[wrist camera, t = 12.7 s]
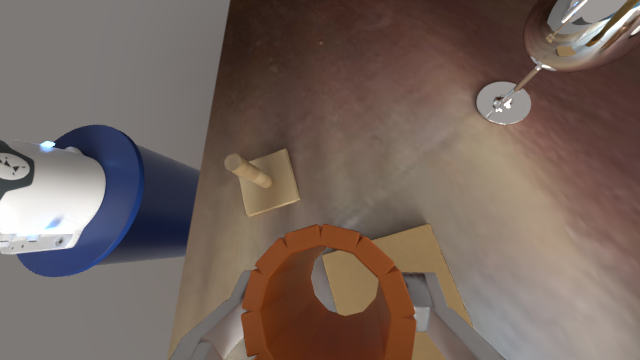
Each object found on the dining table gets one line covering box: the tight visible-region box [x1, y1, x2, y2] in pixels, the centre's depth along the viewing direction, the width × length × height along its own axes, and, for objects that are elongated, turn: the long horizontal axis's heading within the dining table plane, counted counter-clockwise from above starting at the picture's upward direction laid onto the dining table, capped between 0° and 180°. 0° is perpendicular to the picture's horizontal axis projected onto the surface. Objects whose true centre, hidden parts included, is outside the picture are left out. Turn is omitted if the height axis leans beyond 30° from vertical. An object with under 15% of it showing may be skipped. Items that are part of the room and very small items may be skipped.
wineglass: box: [476, 0, 640, 125], centre depth 23 cm, size 8×8×18 cm
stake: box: [224, 149, 300, 217], centre depth 30 cm, size 8×8×10 cm
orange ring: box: [241, 224, 417, 360], centre depth 12 cm, size 6×6×8 cm
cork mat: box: [322, 223, 474, 360], centre depth 28 cm, size 14×14×1 cm
